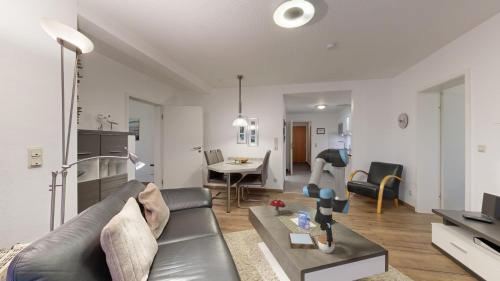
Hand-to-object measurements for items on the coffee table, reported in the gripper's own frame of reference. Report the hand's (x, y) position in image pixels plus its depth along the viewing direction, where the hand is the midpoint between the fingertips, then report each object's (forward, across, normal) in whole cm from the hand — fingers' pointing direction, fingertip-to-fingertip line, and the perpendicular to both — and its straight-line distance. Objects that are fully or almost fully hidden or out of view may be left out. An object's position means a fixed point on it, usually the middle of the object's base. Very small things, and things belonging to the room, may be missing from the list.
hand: (326, 245), depth 130 cm
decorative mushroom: (+3, -59, -29) cm, 66 cm away
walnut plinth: (+4, -9, -15) cm, 18 cm away
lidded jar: (+4, 0, 0) cm, 4 cm away
